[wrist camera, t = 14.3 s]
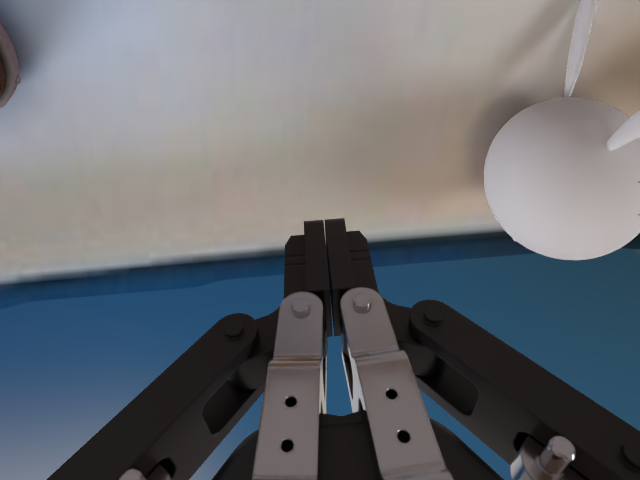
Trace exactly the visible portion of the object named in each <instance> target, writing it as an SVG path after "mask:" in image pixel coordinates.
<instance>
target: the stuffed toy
mask: <svg viewBox="0 0 640 480" xmlns="http://www.w3.org/2000/svg"><path fill="white" fill-rule="evenodd" d="M597 1H598V0H581V2H580V5H579V8H578V11H577V15H576V20H575V24H574V29H573V34H572V40H571V46H570V51H569V57H568V63H567V71H566V78H565V89H564V97H562V98H554V99H549V100H545V101H542V102H539V103H536V104H533V105H531V106H529V107H527V108H525V109H524V110H522V111H520V112H519V113H517V114H516V115H515V116H513V117H512V118H511V119H510V120H509V121H508V122H507V123H506V124H505V125H504V126H503V127H502V128H501V129H500V131H499V132H498V133H497V135H496V136H495V138H494V140H493V142H492V144H491V146H490V148H489V151H488V153H487V157H486V161H485V166H484V188H485V193H486V197H487V201H488V203H489V206H490V208H491V211H492V213H493V214H494V216H495V218H496V219H497V221H498V222H499V224H500V225H501V226H502V228H503V229H504V230H505V231H506V232H507V233H508V234H509V235H510V236H511V237H512V238H513V240H514V241H515V242H516V241H517V242H519V243H520V244H522V245H523V246H525V247H526V248H528V249H530V250H532V251H534V252H536V253H539V254H542V255H545V256H548V257H552V258H556V259H564V260H584V259H592V258H596V257H600V256H603V255H606V254H609V253H611V252H613V251H615V250H617V249H619V248H621V247H623V246H624V245H626V244H627V243H628V242H630V241H631V240H632V239H633V238H635V237H636V236H637V235H638V234H639V233H640V110H639V111H637V112H636V113H635V114H634V115H633V116H631V117H630V118H629V117H628V116H627V115H625V114H624V113H622V112H621V111H619V110H618V109H616V108H614V107H612V106H609V105H607V104H605V103H602V102H599V101H595V100H592V99H586V98H579V97H571V94H572V91H573V89H574V86H575V83H576V81H577V78H578V75H579V72H580V70H581V67H582V64H583V60H584V57H585V53H586V49H587V45H588V41H589V37H590V33H591V29H592V24H593V20H594V16H595V11H596V6H597Z"/></svg>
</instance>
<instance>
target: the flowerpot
mask: <svg viewBox="0 0 640 480" xmlns="http://www.w3.org/2000/svg"><path fill="white" fill-rule="evenodd" d="M20 82H21V78H20V77H19V63H18V59H17V55H16V52H15V49H14V46H13V44H12V41H11V39H10V37H9V35H8V34H7V32H6V30H5V28H4V26H3V25H2V24H1V22H0V109H1V108H2V107H3V106H4V105H5V104H6V103H7V102H8V101H9V99H10V98H11V96H12V95H13V93H14V91H15V89H16V87H17V84H18V83H20Z"/></svg>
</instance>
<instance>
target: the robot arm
mask: <svg viewBox="0 0 640 480" xmlns="http://www.w3.org/2000/svg"><path fill="white" fill-rule="evenodd" d="M325 234H326V244H325ZM325 234H324V223H323V220H315V221H304V235H296V236H291V237H290V238H289V240H288V242H287V243H286V245H285V275H284V277H285V278H284V299H283V301H282V302H281V305H280V306H279V308H278V309H277V310H275V311H274V312H273V313H271V314H269V315H267V316H264V317H261V318H259V319H256V320H254V319H253V318H252V317H251V316H249V315H247V314H242V313H236V314H231V315H228V316H225V317H224V318H222V319H221V320H219V321H218V322H217V323H216V324H215V325H214V326H213V327H212V328H211V329H209V330H208V331H207V332H206V333H205V334H204V335H203V336H202V337H201V338H200V339H199V340H198V341H197V342H195V343H194V344H193V345H192V346H191V347H190V348H189V349H188V350H187V351H186V352H185V353H183V354H182V355H181V356H180V357H179V358H178V359H177V360H176V361H175V362H174V363H173V364H171V365H170V366H169V367H168V368H167V369H166V370H165V371H164V372H163V373H162V374H161V375H160V376H158V378H156V379H155V380H154V381H153V382H152V383H151V384H150V385H149V386H148V387H147V388H145V389H144V390H143V391H142V392H141V393H140V394H139V395H138V396H137V397H136V398H135V399H134V400H133V401H131V402H130V403H129V404H128V405H127V406H126V407H125V408H124V409H123V410H122V411H121V412H119V413H118V414H117V415H116V416H115V417H114V418H113V419H112V420H111V421H110V422H109V423H108V424H106V425H105V426H104V427H103V428H102V429H101V430H100V431H99V432H98V433H97V434H96V435H95V436H94V437H92V438H91V439H90V440H89V441H88V442H87V443H86V444H85V445H84V446H83V447H81V448H80V449H79V450H78V451H77V452H76V453H75V454H74V455H73V456H72V457H71V458H70V459H68V460H67V461H66V462H65V463H64V464H63V465H62V466H61V467H60V468H59V469H58V470H57V471H55V472H54V473H53V474H52V475H51V476H50V477H49V478H48V479H47V480H189V479H190V478H191V477H192V476H193V474H194V473H195V472H196V471H197V470H198V468H199V467H200V466H201V465H202V464H203V463H204V461H205V460H206V459H207V458H208V457H209V456H210V454H211V453H212V452H213V450H215V448H216V447H217V446H218V445H219V444H220V443H221V441H222V440H223V439H224V438H225V437H226V435H227V434H228V433H229V432H230V431H231V429H232V428H233V427H234V426H235V425H236V424H237V423H238V421H239V420H240V419H241V418H242V417H243V415H244V414H245V413H246V412H247V411H248V410H249V408H250V407H251V406H252V405H253V404H254V402H255V401H256V400H257V399H258V398H259V397H260V395H261V394H262V393H263V392H264V395H263V403H262V410H261V417H260V424H259V429H258V430H257V431H255V432H253V433H252V434H251V435H249V436H248V437H247V438H246V439H244V440H243V441H242V443H240V445H238V446H237V448H236V449H235V450H234V451H233V453H232V454H231V455H230V457H229V458H228V459H227V461H226V462H225V463H224V464H223V466H222V467H221V468H220V470H219V471H218V472H217V474H216V475H215V476H214V478H213V479H212V480H504V479H502V478H501V477H500V476H499V475H498V474H497V473H496V472H495V471H494V470H493V469H492V468H491V467H490V466H488V465H487V464H486V463H485V462H484V461H483V460H482V459H481V458H480V457H479V456H478V455H477V454H475V453H474V452H473V451H472V450H471V449H470V448H469V447H468V446H467V445H466V444H465V443H464V442H462V441H461V440H460V439H459V438H458V437H457V436H456V435H455V434H454V433H453V432H451V431H450V430H449V429H447V428H446V427H445V426H443V425H442V424H440V423H439V422H437V421H435V420H433V419H431V418H429V416H428V413H427V411H426V408H425V405H424V402H423V399H422V396H421V393H420V390H419V389H421V390H422V391H423V392H424V393H425V394H427V395H428V396H429V397H430V398H431V399H433V400H434V401H435V402H436V403H437V404H438V405H440V406H441V407H442V408H443V409H444V410H446V411H447V412H448V413H449V414H450V415H452V416H453V417H454V418H455V419H456V420H457V421H459V422H460V423H461V424H462V425H463V426H465V427H466V428H467V429H468V430H469V431H471V432H472V433H473V434H474V435H475V436H476V437H478V438H479V439H480V440H481V441H482V442H484V443H485V444H486V445H487V446H489V448H491V449H492V450H493V451H494V452H495V453H497V454H498V455H499V456H500V457H501V458H503V459H504V460H505V461H506V462H507V463H508V464H510V465H511V477H512V480H640V431H638V430H637V429H635V428H634V427H632V426H631V425H629V424H628V423H626V422H624V421H623V420H621V419H620V418H618V417H617V416H615V415H614V414H612V413H611V412H609V411H608V410H606V409H605V408H603V407H602V406H600V405H599V404H597V403H595V402H594V401H593V400H591V399H590V398H588V397H586V396H585V395H584V394H582V393H580V392H579V391H577V390H576V389H574V388H573V387H571V386H570V385H568V384H567V383H565V382H563V381H562V380H561V379H559V378H558V377H556V376H555V375H553V374H551V373H550V372H548V371H547V370H545V369H544V368H542V367H541V366H539V365H538V364H536V363H535V362H533V361H532V360H530V359H529V358H527V357H525V356H524V355H523V354H521V353H519V352H518V351H516V350H515V349H513V348H512V347H510V346H509V345H507V344H506V343H504V342H503V341H501V340H499V339H498V338H497V337H495V336H494V335H492V334H490V333H489V332H487V331H486V330H484V329H483V328H481V327H480V326H478V325H477V324H475V323H474V322H472V321H471V320H469V319H468V318H466V317H465V316H463V315H461V314H460V313H458V312H457V311H455V310H454V309H452V308H450V307H449V306H448V305H446V304H444V303H442V302H440V301H436V300H423V301H420V302H418V303H416V304H415V305H414V306H413V307H412V308H407V307H402V306H398V305H395V304H392V303H390V302H388V301H387V300H385V299H384V298H383V297H382V296H381V295H380V293H379V291H378V289H377V284H376V280H375V275H374V271H373V266H372V261H371V257H370V252H369V248H368V243H367V239H366V238H365V237H364V236H363V235H362V234H361V232H360V231H349V232H346V227H345V221H344V218H342V219H328V220H325ZM326 252H327V254H326ZM330 296H331V301H330ZM331 307H332V317H333V326H334V336H341V345H342V359H343V364H344V369H345V374H346V379H347V384H348V389H349V394H350V399H351V405H352V411H353V413H352V414H349V415H346V416H335V415H329V414H326V364H327V361H326V360H327V358H326V354H327V351H328V343H327V337H329V336H332V319H331Z"/></svg>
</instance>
